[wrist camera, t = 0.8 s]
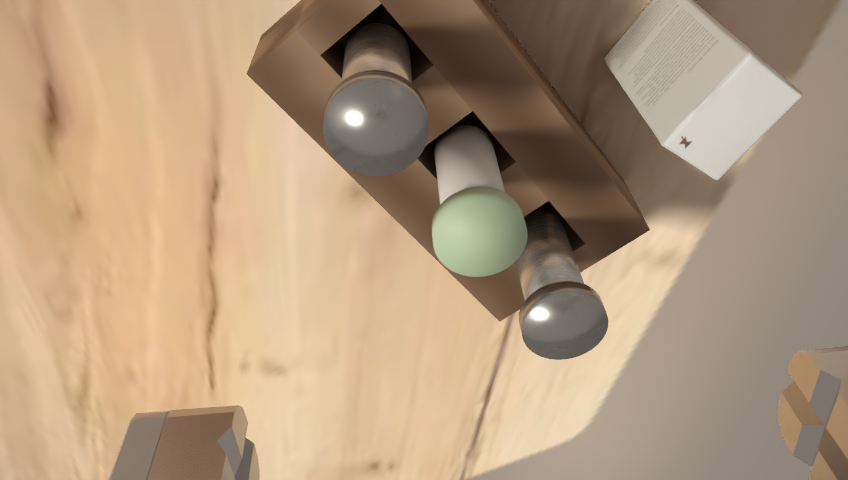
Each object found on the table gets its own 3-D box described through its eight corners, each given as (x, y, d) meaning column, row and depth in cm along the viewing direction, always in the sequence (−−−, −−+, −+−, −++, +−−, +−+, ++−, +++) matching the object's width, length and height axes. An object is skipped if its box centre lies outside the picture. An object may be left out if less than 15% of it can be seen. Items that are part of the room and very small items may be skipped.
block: (412, -99, 41) (416, -74, 36) (625, 182, 52) (649, 229, 48) (261, 35, 45) (246, 73, 40) (489, 269, 56) (499, 321, 52)
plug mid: (472, 100, 43) (491, 181, 35) (518, 156, 45) (545, 243, 37) (408, 147, 44) (413, 235, 37) (456, 199, 46) (470, 291, 39)
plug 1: (381, -7, 39) (381, 59, 31) (437, 60, 41) (450, 135, 34) (315, 49, 40) (300, 124, 33) (373, 110, 43) (371, 193, 35)
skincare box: (648, 92, 49) (715, 185, 39) (600, 58, 47) (657, 146, 37) (717, 16, 46) (807, 96, 36) (668, -23, 44) (749, 50, 34)
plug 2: (547, 190, 46) (578, 280, 39) (586, 237, 49) (623, 331, 41) (486, 230, 48) (505, 325, 41) (527, 274, 50) (552, 371, 43)
